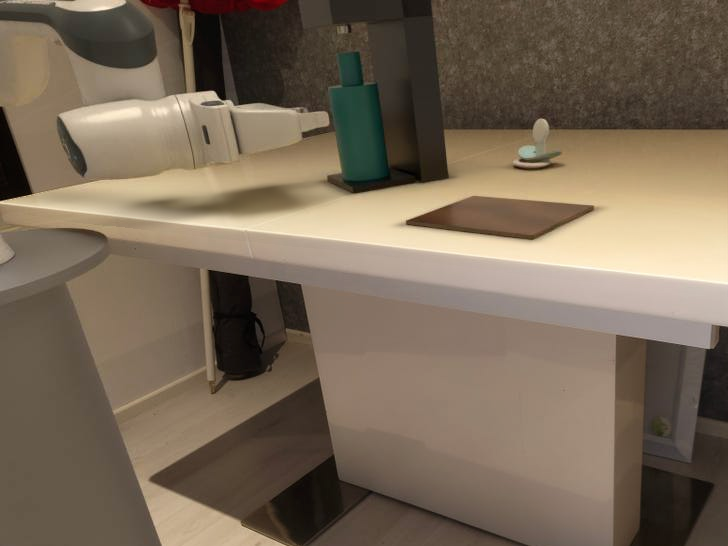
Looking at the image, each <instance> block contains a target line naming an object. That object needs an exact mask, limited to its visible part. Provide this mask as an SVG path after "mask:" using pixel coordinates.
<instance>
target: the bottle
mask: <svg viewBox="0 0 728 546" xmlns="http://www.w3.org/2000/svg"><path fill="white" fill-rule="evenodd" d="M335 56H336V63H337V67H338V75H339V80H340V85H339V84H338V85H332V86H327V92H328V98H329V104H330V110H331V116H332V122H333V128H334V135H335V140H336V146H337V147H336V148H337V152H338V158H339V164H340V165H339V166H340V170H341V173H342V177H343V180H345V181H367V180H374V179H379V178H383V177H386V176H388V175H389V174H390V172H389V165H388V157H387V150H386V143H385V135H384V128H383V121H382V113H381V106H380V98H379V91H378V84H377V83H374V81H373V82H364V75H363V68H362V62H361V61H362V60H361V55H360V51H359V50H357V51H344V52H337V53H336V54H335Z"/></svg>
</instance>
